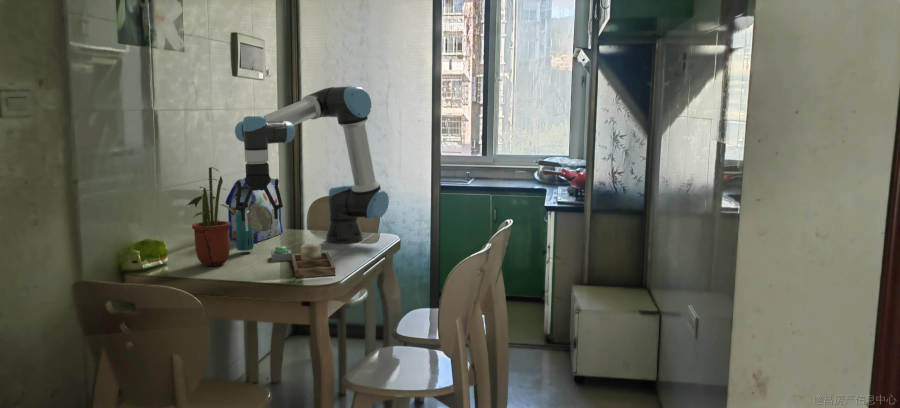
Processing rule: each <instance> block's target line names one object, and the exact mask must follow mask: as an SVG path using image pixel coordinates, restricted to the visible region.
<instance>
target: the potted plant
mask: <svg viewBox="0 0 900 408" xmlns="http://www.w3.org/2000/svg"><path fill="white" fill-rule="evenodd" d="M212 170H215V171H217V172H218V173H220V170H219V169H218V168H216V167H213V166H210V167H208V179H207V180H208V183H209V186H208V187H209V188H208V189H207V188H206V187H204V186H199V189H202V190H201V192H203V193H202V195H200V196H197V197H195V198H193V199H192V200H191V201H190V202H188V203H187V204H186V205H185V206H186V207H187V206H190V205H194V206H195V208H196V209H197V207H198V204H199V203H200V201H201V200H202V201H201V202H202V205H201V206H202V207H201V209H202V211H201V212H197V213H196V214H195V215H194V216H193V217H192V218H193V219H194V218H196V217H197V216H200V215H201V217H202V219H201V220H202V221H200V222H196V223H193V224H191V228H192V230H194V231H193V232H194V247H195V253H196V257H197V259H198V261H199V263H201V264H202V265H203V266H206V267H219V266H222V265H223V264H225V263H226V262H227V260H228V258H229V257H230V252H231V251H230V250H231V244H230V243H231V240H230V238H229V227H230V226H231V223H230V222H229V221H227V220H220V219H219V220H218V213H219V205H220V206H222V207H224V208H226V209H227V210H228V209H229V210H230V211H231V212H233V211H232V210H231V208H229V207H228V205H226V204H224V203H223V204H222V203H221V204H219V203H220V202H219V201H220V193H221V190H222V185H223V182H224V181H223V177H222V175H220V176H219V179H218V180H217V179H216V178H213V171H212ZM213 180H215V181H216V182H218V183H217V188H216V194H215V196H213V193H214V191H213ZM224 190H225V191H227V189H226V188H224ZM207 192H209V199H208V193H207ZM214 200H215V202H214ZM214 204H215V205H214ZM233 213H234V212H233ZM234 215H235V214H234Z"/></svg>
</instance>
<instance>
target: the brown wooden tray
mask: <svg viewBox="0 0 900 408" xmlns="http://www.w3.org/2000/svg"><path fill="white" fill-rule="evenodd" d="M291 263H292V266H293V272H294V276H295V280H302V279H315V278H317V279H318V278H328V277H336V266H335V264H334V262H333V259H332V258H331V256H330V254H329V252H328V251H326V252H325V251H324V252H321V260H311V261H301V253H299V254H298V253H297V254H292V260H291Z"/></svg>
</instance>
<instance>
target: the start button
mask: <svg viewBox="0 0 900 408" xmlns="http://www.w3.org/2000/svg"><path fill="white" fill-rule="evenodd" d="M274 249H275V251H276V254H278V253H287V250H288V249H287V246H285V245H280V246H275V248H274Z"/></svg>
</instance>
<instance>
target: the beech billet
mask: <svg viewBox="0 0 900 408" xmlns="http://www.w3.org/2000/svg"><path fill="white" fill-rule="evenodd" d="M321 253H322V245H321V244H318V243H316V244H315V243H310V244H309V243H307V244H302V245H300V254H301V261H311V260H321Z"/></svg>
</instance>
